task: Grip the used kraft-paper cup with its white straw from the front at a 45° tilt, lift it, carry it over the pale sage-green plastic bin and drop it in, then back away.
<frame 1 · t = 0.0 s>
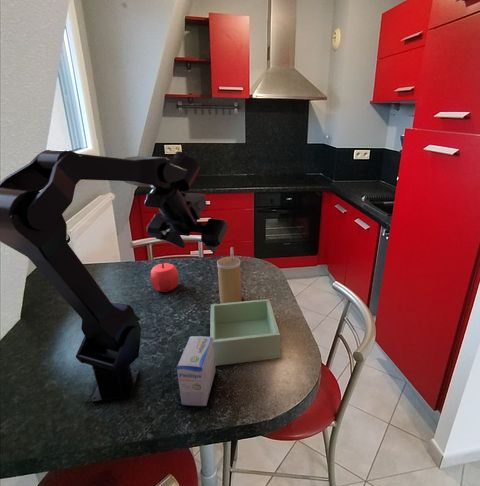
hand: (199, 249, 81), 15 cm above the table, tool tilted 35°, fingers open, 9 cm apart
straw cup: (231, 302, 85), on the table
medicine box: (200, 389, 58), on the table
bin: (243, 340, 71), on the table
apple: (166, 288, 92), on the table
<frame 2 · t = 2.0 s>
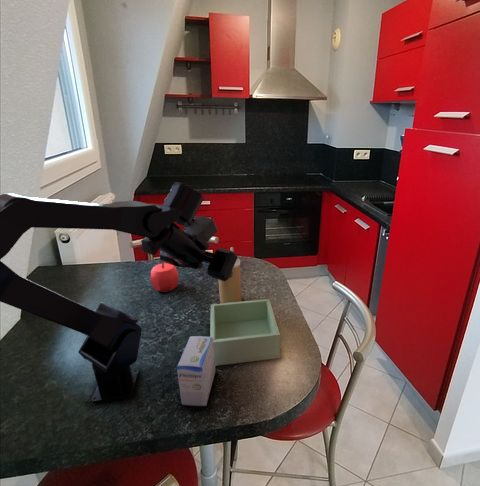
hand: (216, 270, 77), 11 cm above the table, tool tilted 45°, fingers open, 9 cm apart
nothing on the table moved.
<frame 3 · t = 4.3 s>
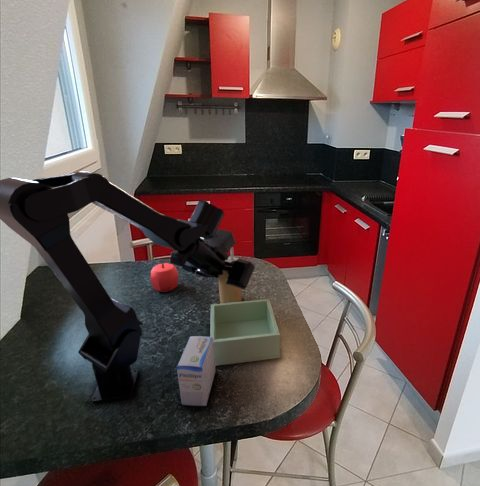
hand: (233, 278, 84), 7 cm above the table, tool tilted 45°, fingers closed on straw cup, 5 cm apart
straw cup: (231, 302, 85), on the table, touching gripper
everything else where it was.
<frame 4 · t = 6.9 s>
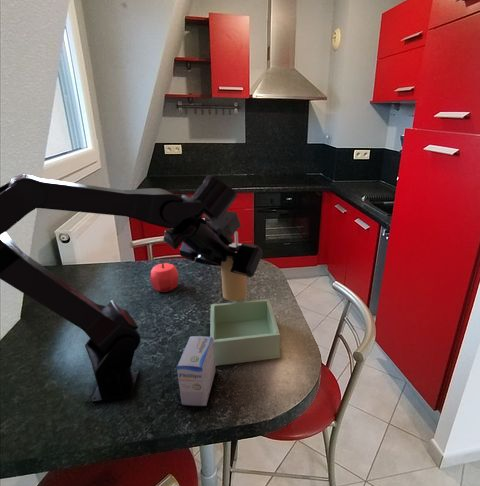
hand: (237, 267, 74), 13 cm above the table, tool tilted 45°, fingers closed on straw cup, 5 cm apart
straw cup: (234, 294, 76), point 7 cm above the table, touching gripper
everything else where it was.
when the fingers open (8 cm above the table, at t = 10.0 s): straw cup stays where it is, resting on bin.
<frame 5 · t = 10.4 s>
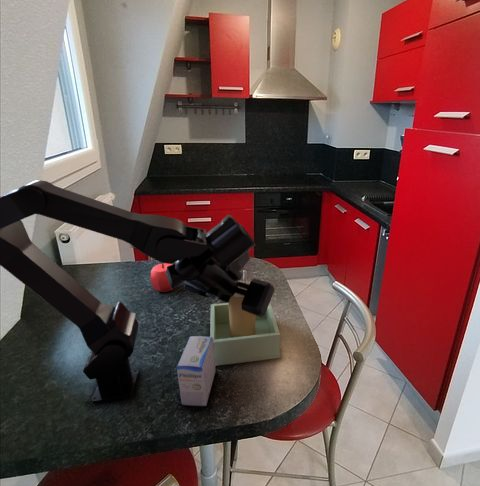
hand: (245, 299, 70), 9 cm above the table, tool tilted 45°, fingers open, 9 cm apart
straw cup: (243, 334, 71), point 1 cm above the table, touching bin
everything else where it was.
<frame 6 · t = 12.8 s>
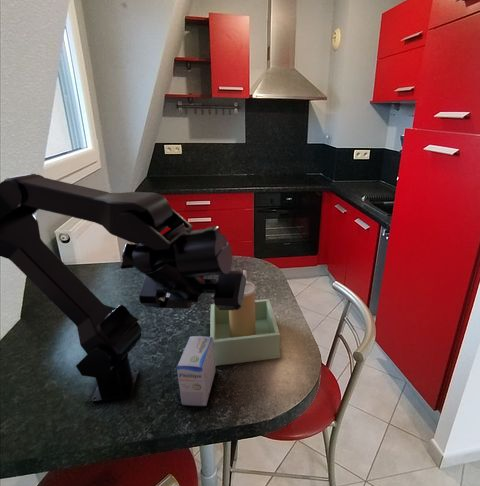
hand: (211, 306, 62), 12 cm above the table, tool tilted 40°, fingers open, 9 cm apart
nothing on the table moved.
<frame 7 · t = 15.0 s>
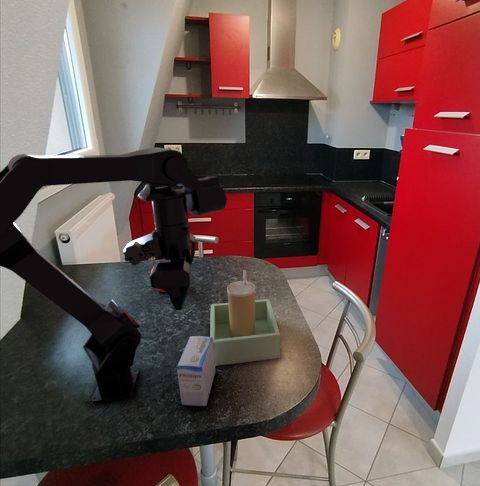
hand: (181, 296, 63), 13 cm above the table, tool pointing down, fingers open, 9 cm apart
nothing on the table moved.
at the end: straw cup inside the target area in the bin (1.0 cm from its centre), point 0.8 cm above the bin's base; the gripper is holding nothing; straw cup moved 15.1 cm from its start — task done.
